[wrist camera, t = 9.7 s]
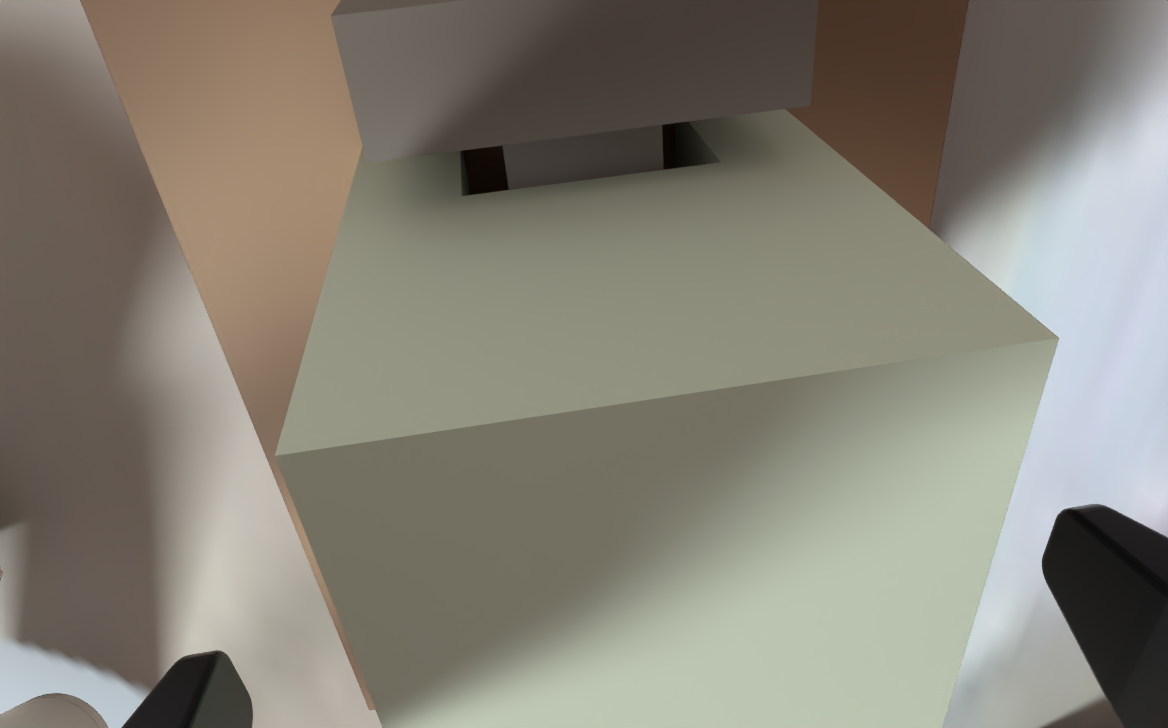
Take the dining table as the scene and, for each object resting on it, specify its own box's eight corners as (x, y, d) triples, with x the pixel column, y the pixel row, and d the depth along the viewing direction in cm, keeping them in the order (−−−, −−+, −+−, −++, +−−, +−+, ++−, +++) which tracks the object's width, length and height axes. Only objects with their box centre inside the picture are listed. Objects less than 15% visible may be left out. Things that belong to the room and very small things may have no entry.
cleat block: (749, 449, 16) (919, 801, 10) (448, 496, 16) (446, 890, 10) (766, 93, 12) (1058, 338, 6) (362, 143, 12) (275, 456, 6)
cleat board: (835, 578, 21) (918, 739, 17) (374, 655, 20) (357, 843, 16) (937, -146, 12) (1157, -134, 8) (107, -55, 11) (-68, 3, 7)
